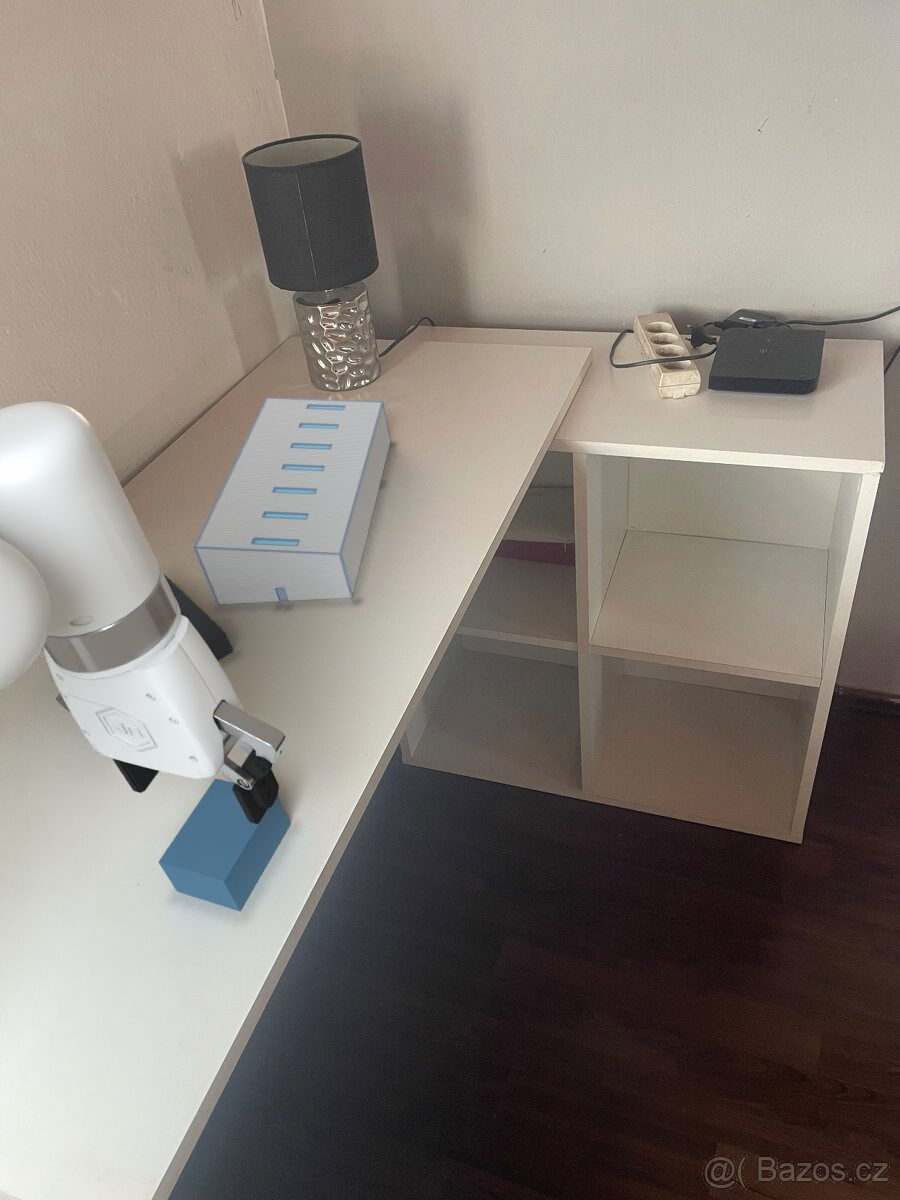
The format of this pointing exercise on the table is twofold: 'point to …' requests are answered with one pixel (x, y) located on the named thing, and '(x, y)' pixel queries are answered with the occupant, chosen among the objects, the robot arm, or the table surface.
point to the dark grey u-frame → (202, 623)
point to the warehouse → (297, 503)
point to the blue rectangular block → (223, 848)
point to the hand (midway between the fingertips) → (206, 790)
